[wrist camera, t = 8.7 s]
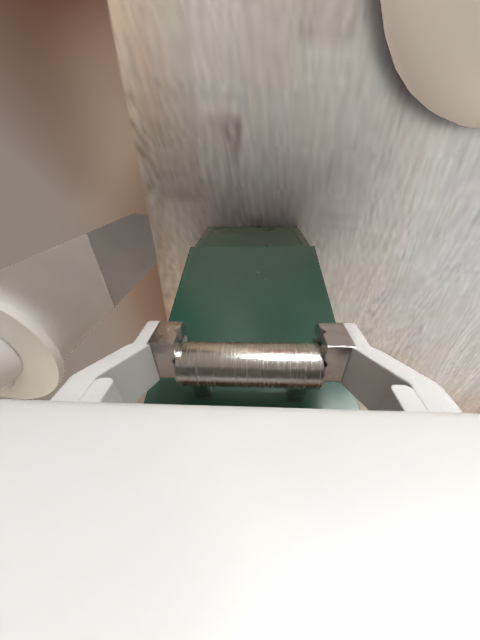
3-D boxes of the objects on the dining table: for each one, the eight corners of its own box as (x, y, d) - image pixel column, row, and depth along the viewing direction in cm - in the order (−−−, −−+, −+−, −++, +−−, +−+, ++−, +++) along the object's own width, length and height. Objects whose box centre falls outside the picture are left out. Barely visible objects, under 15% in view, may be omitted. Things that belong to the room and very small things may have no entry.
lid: (365, 457, 10) (428, 430, 7) (137, 448, 11) (79, 418, 7) (312, 253, 20) (326, 196, 16) (192, 254, 21) (179, 199, 17)
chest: (286, 325, 36) (294, 367, 28) (217, 325, 36) (208, 365, 29) (297, 225, 28) (312, 248, 20) (208, 226, 28) (192, 249, 21)
